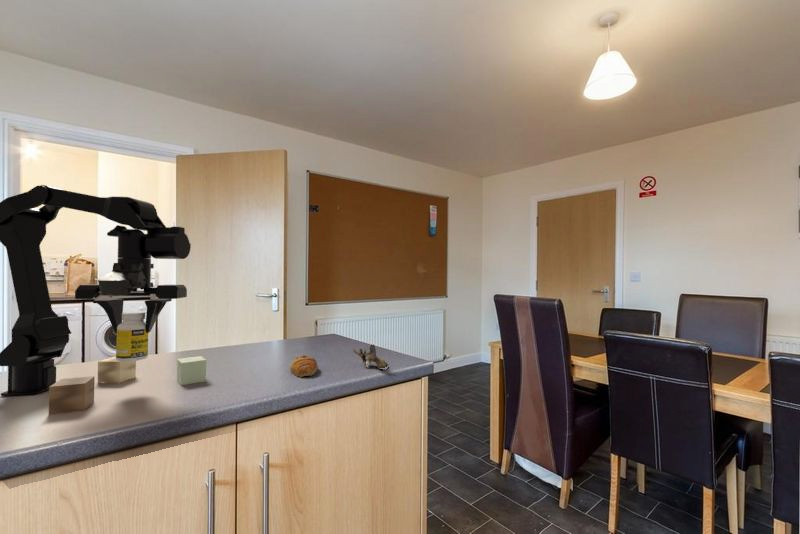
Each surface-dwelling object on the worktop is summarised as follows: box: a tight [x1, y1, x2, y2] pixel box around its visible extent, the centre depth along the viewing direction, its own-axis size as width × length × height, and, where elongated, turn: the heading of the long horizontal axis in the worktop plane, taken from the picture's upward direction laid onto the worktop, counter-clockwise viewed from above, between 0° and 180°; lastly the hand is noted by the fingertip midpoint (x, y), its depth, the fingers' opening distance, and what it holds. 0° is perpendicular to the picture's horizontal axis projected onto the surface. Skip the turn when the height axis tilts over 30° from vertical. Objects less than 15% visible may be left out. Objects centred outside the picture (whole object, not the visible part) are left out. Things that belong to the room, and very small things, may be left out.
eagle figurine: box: [352, 343, 389, 370], centre depth 99 cm, size 8×7×9 cm
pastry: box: [289, 354, 319, 378], centre depth 93 cm, size 9×7×4 cm
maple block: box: [97, 355, 137, 384], centre depth 85 cm, size 5×5×5 cm
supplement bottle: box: [115, 311, 150, 362], centre depth 77 cm, size 5×5×10 cm
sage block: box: [176, 355, 207, 386], centre depth 85 cm, size 5×5×5 cm
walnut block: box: [48, 375, 96, 416], centre depth 68 cm, size 5×5×5 cm
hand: (133, 332), depth 77 cm, fingers closed on supplement bottle, 5 cm apart
